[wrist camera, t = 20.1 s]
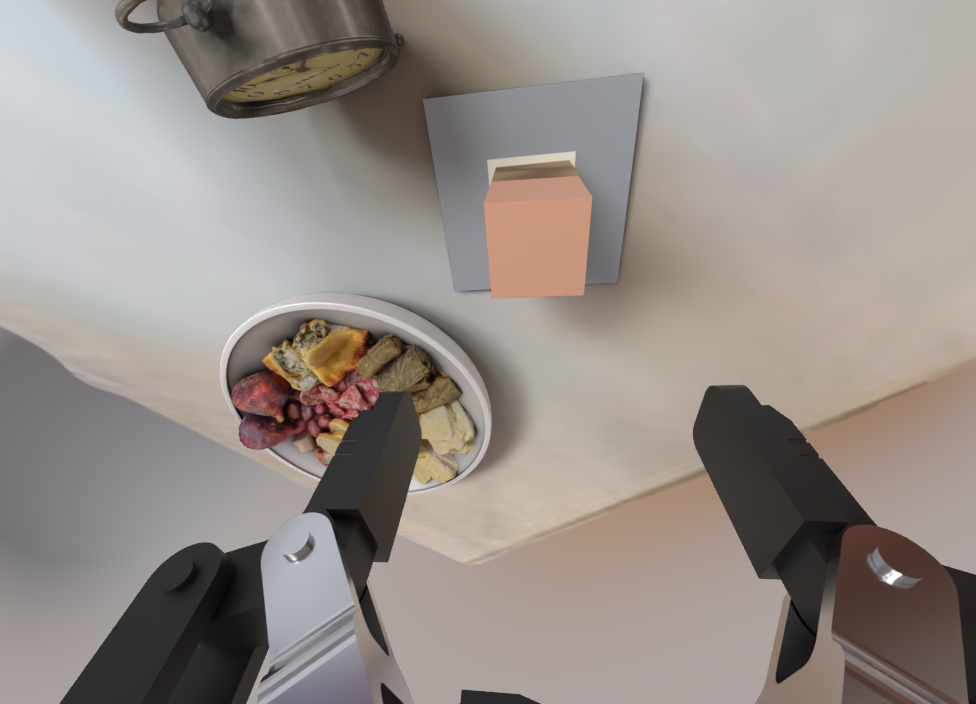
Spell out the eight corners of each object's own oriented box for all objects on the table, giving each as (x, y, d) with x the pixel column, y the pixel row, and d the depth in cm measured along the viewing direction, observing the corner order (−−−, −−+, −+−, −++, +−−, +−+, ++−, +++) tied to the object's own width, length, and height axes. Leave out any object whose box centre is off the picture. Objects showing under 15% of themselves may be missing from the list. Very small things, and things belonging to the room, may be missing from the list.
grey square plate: (455, 287, 35) (454, 291, 34) (425, 99, 26) (422, 99, 25) (615, 278, 33) (617, 282, 32) (640, 73, 24) (644, 72, 23)
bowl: (464, 258, 33) (450, 297, 27) (510, 460, 50) (509, 514, 44) (192, 299, 38) (127, 340, 32) (318, 470, 55) (292, 519, 49)
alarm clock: (294, 118, 27) (87, 144, 14) (248, 27, 24) (-68, -44, 11) (425, 63, 25) (317, 34, 12) (391, -45, 22) (196, -244, 9)
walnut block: (501, 238, 31) (498, 263, 26) (496, 167, 27) (491, 182, 23) (567, 233, 30) (575, 258, 26) (569, 159, 27) (578, 173, 22)
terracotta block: (496, 263, 26) (491, 298, 22) (491, 181, 23) (483, 203, 19) (573, 259, 26) (583, 295, 21) (578, 175, 22) (592, 196, 18)
